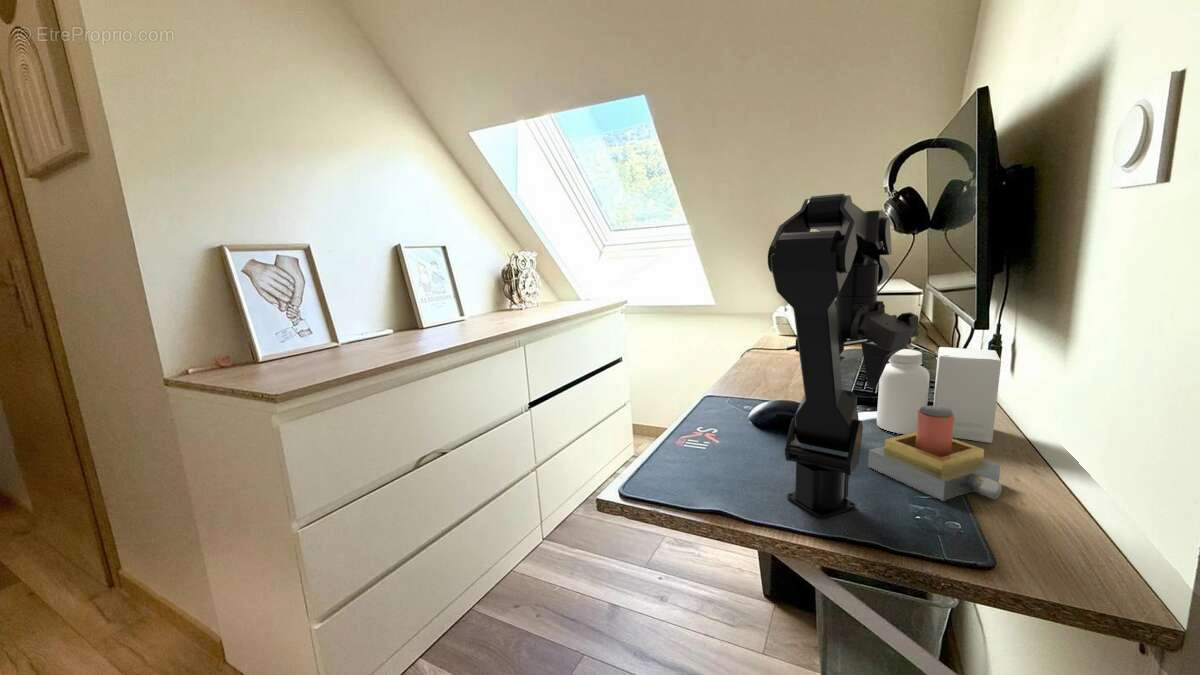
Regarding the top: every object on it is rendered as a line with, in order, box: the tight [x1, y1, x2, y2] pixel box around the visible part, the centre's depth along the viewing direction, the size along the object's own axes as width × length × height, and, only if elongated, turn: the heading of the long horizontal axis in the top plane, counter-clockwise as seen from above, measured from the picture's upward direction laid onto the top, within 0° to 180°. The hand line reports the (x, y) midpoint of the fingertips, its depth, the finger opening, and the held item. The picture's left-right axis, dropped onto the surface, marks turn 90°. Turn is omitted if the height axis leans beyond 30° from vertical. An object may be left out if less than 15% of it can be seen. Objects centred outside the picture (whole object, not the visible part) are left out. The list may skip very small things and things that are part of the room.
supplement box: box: [933, 346, 1002, 444], centre depth 91 cm, size 9×9×15 cm
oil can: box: [916, 405, 954, 457], centre depth 75 cm, size 4×4×7 cm
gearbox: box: [867, 431, 1002, 502], centre depth 75 cm, size 12×15×5 cm
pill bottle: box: [876, 348, 931, 434], centre depth 93 cm, size 8×8×15 cm
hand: (851, 391), depth 80 cm, fingers open, 9 cm apart
